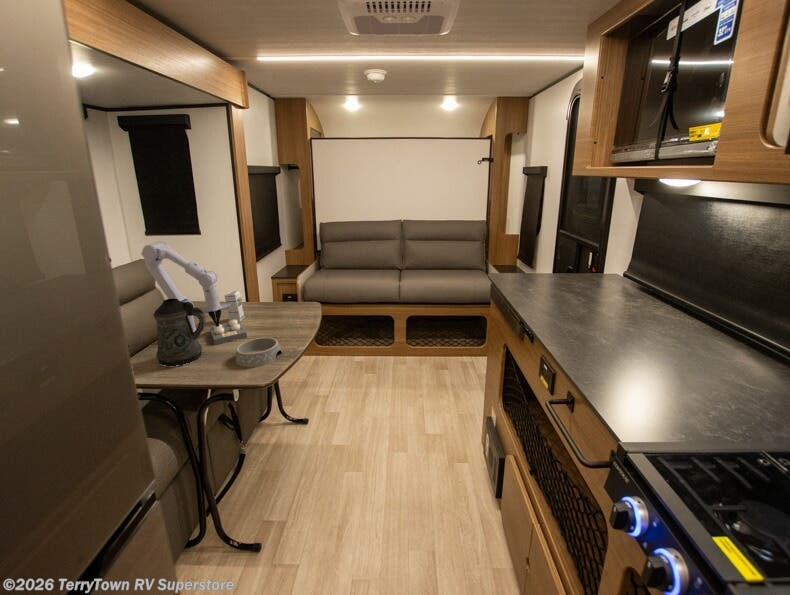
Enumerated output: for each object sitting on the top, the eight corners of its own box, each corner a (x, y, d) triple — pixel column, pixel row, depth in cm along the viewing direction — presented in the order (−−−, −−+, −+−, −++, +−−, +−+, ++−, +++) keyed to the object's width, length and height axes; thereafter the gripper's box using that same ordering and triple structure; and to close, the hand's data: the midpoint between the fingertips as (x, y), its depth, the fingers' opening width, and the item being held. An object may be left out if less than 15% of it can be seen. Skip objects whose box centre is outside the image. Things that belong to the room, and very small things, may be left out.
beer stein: (154, 358, 167) (139, 300, 159) (203, 344, 179) (192, 289, 171) (163, 372, 155) (147, 310, 147) (215, 355, 166) (203, 297, 159)
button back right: (230, 328, 191) (228, 323, 190) (228, 326, 194) (227, 320, 194) (238, 326, 193) (237, 321, 192) (237, 324, 196) (236, 318, 195)
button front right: (232, 333, 185) (231, 327, 184) (231, 330, 189) (229, 325, 188) (241, 331, 187) (240, 325, 186) (240, 328, 190) (239, 323, 190)
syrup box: (240, 321, 204) (235, 294, 200) (229, 322, 204) (224, 294, 200) (245, 317, 210) (240, 290, 205) (233, 318, 210) (228, 291, 205)
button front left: (215, 337, 182) (214, 331, 181) (214, 334, 185) (213, 328, 184) (225, 334, 184) (224, 329, 183) (224, 332, 187) (223, 326, 186)
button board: (215, 344, 177) (213, 339, 176) (210, 331, 193) (209, 325, 192) (247, 337, 183) (246, 331, 183) (239, 325, 199) (238, 319, 198)
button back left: (214, 333, 188) (213, 328, 187) (213, 331, 191) (212, 325, 191) (223, 331, 190) (222, 326, 189) (222, 329, 193) (221, 323, 192)
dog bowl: (227, 367, 156) (225, 354, 155) (250, 347, 174) (248, 335, 172) (269, 368, 154) (267, 355, 152) (288, 347, 171) (286, 335, 170)
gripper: (195, 303, 179) (201, 332, 183) (229, 297, 186) (235, 325, 190) (194, 299, 185) (199, 327, 189) (227, 293, 192) (232, 320, 196)
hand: (217, 326), depth 190 cm, fingers closed, pressing on button back left
